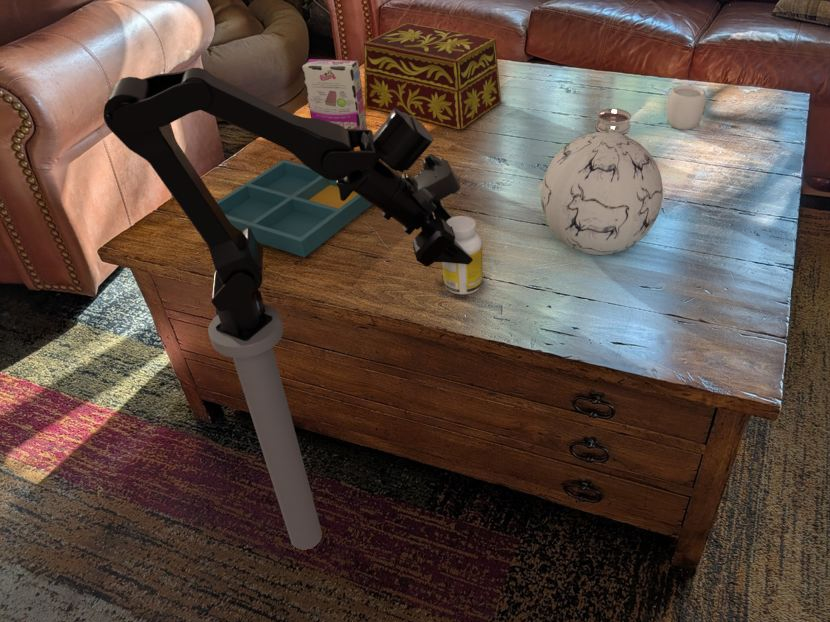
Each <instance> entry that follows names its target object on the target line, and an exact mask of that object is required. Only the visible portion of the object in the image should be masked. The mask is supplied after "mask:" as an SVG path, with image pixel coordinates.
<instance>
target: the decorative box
mask: <svg viewBox="0 0 830 622" xmlns="http://www.w3.org/2000/svg"><path fill="white" fill-rule="evenodd" d="M363 67H364V68H363V69H364V71H363V72H364V73H363V74H364V107H366V108H369V109H371V110H372V109H373V110H376V111H381V112H385V113H388V114H390V113H391V111H392V110H393V109H394V108H396V109H398V110H399V111H400V112H401V113H402V112H404V113H406V114H408V115H409V116H413V117H415V118H416V119H417V120H418V121H422V122H426V123H429V124H434V125H438V126H441V127H446V128H451V129H455V130H459V131H462V130H463V129H465V128H467V127H468V126H469V125H471V124H473V122H475V121H477V120H478V119H480V118H481V117H482V116H484V115H485V114H487V113H488V112H490V111H492V109H494V108H496V107H497V106H498V105H500V104H501V103H502V96H501V95H502V94H501V86H500V76H499V75H500V74H499V67H498V54H497V45H496V39H494V38H491V37H485V36H480V35H475V34H470V33H464V32H459V31H453V30H447V29H442V28H438V27H437V28H436V27H432V26H426V25H420V24H416V23H415V24H414V23H409V22H406V23H403V24H401V25H399V26H397V27H395V28H393V29H391V30H389V31H386V32H384V33H382V34H380V35H378V36H376V37H374V38H372V39H369V40H367V41H365V42H364V43H363Z"/></svg>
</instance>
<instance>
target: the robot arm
mask: <svg viewBox="0 0 830 622" xmlns="http://www.w3.org/2000/svg"><path fill="white" fill-rule="evenodd" d="M199 111H202V112H205V113H207V114H208V115H211V116H213V117H215V118H217V119H220V120H222V121H224V122H226V123H229V124H231V125H233V126H235V127H238V128H240V129H241V130H244V131H245V132H249V133H250V134H252V135H255V136H257V137H259V138H262V139H263V140H266V141H268V142H271V143H273V144H274V145H277V146H279V147H281V148H283V149H285V150H286V151H289V152H290V153H291V154H292V155H293V156H295V158H297V159H298V160H299V162H301V163H302V165H305V166H307V167H308V168H310V169H311V170H313V171H315V172H316V173H318V174H319V175H321V176H322V177H324V178H326V179H328V180H332V181H336V183H337V186H338V188H339V192H340V199H341V200H342V201H345V200H346V199H347V198H348V196H349V195H350V194H351V193H352V192H353V191H354V192H356V193H357V194H359V195H360V196H362V197H363V198H364V199H366V200H367V201H369V202H370V203H372V204H373V205H372V206H374V207H376V208H377V209H379V210H380V211H381V214H382V218H384V219H385V220H387V221H390V219H393V220H395V221H396V222H397V223H399V224H400V225H402V227H403V231H404V233H406V234H407V235H409V236H410V235H411V234H412V233H413V232H414V231H415V230H416V231H418V230H419V229H421V231H420V232H419V233H418V234H417V235H416V236H415V238H413V239H412V248H413V253H414V256H415V259H416V261H417V262H418V263H419V264H421V265H422V266H424V267H430V266H431V265H433V264H434V263H442V262H447V263H458V264H470V263H471V262H472V261H473V259H472V257H471V256H470V255H469V254H468V253H467V252H466V251H465V250H464V249H463V248H462V247H461V246H460V245H459V244H458V243H457V242H456V241H455V234H454V231H453V228H452V226H451V227H450V226H449V225H448V224H447V222H446V221H447V220H448V219H450V218H452V217H453V216H452V215H451V213H450V212H449V211H448V210H447V209H446V207H445V206H444V205H443V203H442V201H441V200H443V199H445V198H447V197H448V196H450V195H455V194H456V193H458V192H459V191H460V190H461V184H460V181H459V180H458V177H457V175H456V174H455V171H454V170H453V168H452V167H451V165H450V162H449V161H448V160H447V159H445V158H444V157H441V158H440V157H438V156H436V155H434V154H433V153H429V154H427V155H426V156H424V157H423V158H422V167H423V169H421V170H419V173H417V174H416V175H415V176H411V174H409V173H404V172H405V171H410V168H412V166H414V164H415V163H416V162H417V161H418V159H419V158H420V157H421V156H422V155H423V154H424V153H425V152H426V151H427V149H428V148H429V147H430V146H431V145H432V144H433V143H434V141H435V139H434V137H433V135H432V133H431V132H430V131H429V130H428V129H427V127H426V126H425V125H423V123H422V122H420V120H417V119H416V118H415V117H413V116H409V115H408V114H406V113H404V112H402V113H401V112H400V111H399V110H398V109H396V108H394V109H393V110H392V111H391V113H388V115H387V118H386V119H385V121H383V123H382V124H381V126H380V127H379V128H378V129H377V130H376V131H375V133H374V132H373V130H371V129H367V130H361V129H345V128H344V127H343V126H340V125H338V124H334V123H331V122H328V121H324V120H321V119H317V118H311V117H304V116H300V115H297V114H294V113H292V112H290V111H287V110H286V109H284V108H282V107H279V106H277V105H275V104H273V103H271V102H269V101H267V100H265V99H263V98H260V97H259V96H256V95H254V94H252V93H250V92H248V91H246V90H244V89H241V88H240V87H238V86H236V85H234V84H231V83H230V82H227V81H225V80H223V79H221V78H219V77H216V76H215V75H213V74H212V73H210V72H209V71H208V70H206V69H205V68H202V67H191V68H189V69H185V70H181V71H176V72H167V73H165V72H164V73H158V74H154V75H151V76H148V77H145V78H140V77H136V76H127V77H123V78H121V79H119V80H118V81H116V82H115V83H114V85H113V86H112V88H111V90H110V93H109V95H108V97H107V99H106V102H105V104H104V108H103V113H102V116H103V121H104V123H105V124H106V127H107V128H108V129H109V130H110V132H112V134H113V135H114V136H115V137H116V138H117V139H118V140H119V141H120V142H121V143H122V144H123V145H124V146H125V147H126V148H127V149H128V150H130V151H131V152H133V153H135V154H136V155H137V156H139V157H140V158H142V159H143V160H145V161H146V162H147V163H148V164H149V165H150V166H151V167H152V169H153V170H154V172H155V173H156V175H157V176H158V177H159V179H160V180H161V182H162V183H163V184H164V186H165V187H166V189H167V190H168V192H169V193H170V194H171V196H172V197H173V198H174V200H175V202H176V203H177V204H178V206H179V208H180V209H181V210H182V211H183V213H184V214H185V216H186V217H187V219H188V220H189V221H190V223H191V224H192V225H193V227H194V229H195V230H196V231H197V232H198V235H200V237H201V239H202V240H203V241H204V243H205V244H206V245H207V247H208V251H209V253H210V256H211V260H212V263H213V267H214V273H213V276H214V277H213V283H212V292H211V301H210V302H211V304H212V305H213V306H214V307H215V310H216V313H217V315H218V316H219V319H220V322H221V323H220V324H218V325H217V326H216V327H215V328H216V330H217V331H219V332H222V333H225V334H227V335H230V336H232V337H235V338H238V339H240V340H243V341H248V340H249V339H250V338H252V337H253V336H254V335H255V334H256V333H258V332H259V331H260V330H261V329H262V328H264V327H265V326H266V325H267V324H268V323H270V322H271V321H272V320H273V318H272V316H270V315H267V314H264V313H265V308H264V304H265V303H264V300H263V296H262V293H261V291H260V290H259V289H260V288H261V286H262V283H263V270H264V246H263V244H261V243H258V241H257V240H256V239H255V237H254V235H253V232H252V230H251V229H250V228H247V229H246V230H244V231H240V230H239V229H237V228H235V227H234V226H233V225H232V224H231V223H230V222H229V220H228V219H227V217H226V215H225V214H224V212H223V211H222V209H221V208H220V206H219V205H218V203H217V200H216V198H215V197H214V196H213V194H212V193H211V191H210V190H209V188H208V187H207V185H206V184H205V183H204V181H203V179H202V178H201V176H200V174H199V173H198V172H197V170H196V168H195V167H194V165H193V164H192V163H191V161H190V159H189V158H188V157H187V155H186V154H185V152H184V151H183V149H182V148H181V146H180V144H179V143H178V141H177V139H176V137H175V133H174V130H173V127H172V123H173V122H175V121H177V120H179V119H182V118H183V117H185V116H187V115H189V114H192V113H196V112H199ZM355 148H359V150H355ZM398 172H399V173H401V175H400V174H399V173H398Z"/></svg>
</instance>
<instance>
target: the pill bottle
mask: <svg viewBox="0 0 830 622" xmlns="http://www.w3.org/2000/svg"><path fill="white" fill-rule="evenodd" d="M446 222H447V224H448V225H449V226H450V227H451V226H452V228H453V231H454V234H455V241H456V242H457V243H458V244H459V245H460V246H461V247H462V248H463V249H464V250H465V251H466V252H467V253H468V254H469V255H470V256H471V257H472V259H473V261H472V262H471V263H470V264H458V263H447V262H441V264H442V277H443V278H442V280H443V285H444V287H445V289H446V290H447V291H448V292H450V293H452V294H454V295H455V294H456V295H470V294H474V293H475V292H477V291H478V290H480V289H481V287H482V286H483V282H484V275H483V274H484V272H483V269H484V268H483V241H482V238H481V236H480V235H479V233H478V232H476V231H477V225H476V224H477V223H476V220H475V219H473V217H470V216H467V215H455V216H452V218H450V219H448V220H447V221H446Z"/></svg>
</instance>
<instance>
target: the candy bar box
mask: <svg viewBox="0 0 830 622" xmlns="http://www.w3.org/2000/svg"><path fill="white" fill-rule="evenodd" d="M301 69H302V75H303V81H304V86H305V92H306V98H307V103H308V108H309V114H310V118H317V119H321V120H324V121H328V122H331V123H334V124H338V125H340V126H343V127H344V128H345V129H361V130H368V124H367V117H366V110H365V101H364V96H363V87H362V78H361V71H360V63H359V60H349V59H348V60H347V59H321V58H319V59H317V58H309V59H308V60H307V61H306V62H305V63H304V64H303V65H302V66H301Z"/></svg>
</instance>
